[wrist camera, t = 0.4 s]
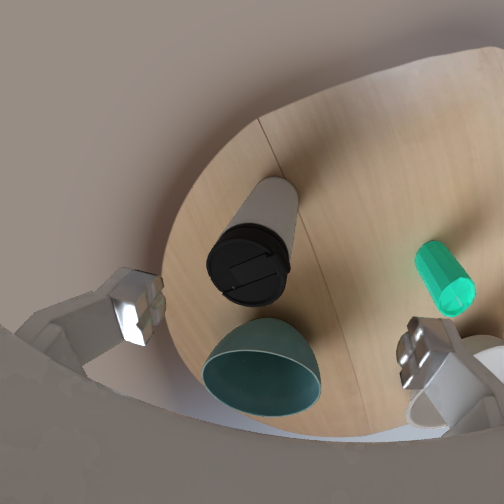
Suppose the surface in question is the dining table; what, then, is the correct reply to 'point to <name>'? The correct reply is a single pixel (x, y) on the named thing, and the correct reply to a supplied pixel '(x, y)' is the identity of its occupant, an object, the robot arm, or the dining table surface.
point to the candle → (445, 279)
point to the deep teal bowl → (263, 370)
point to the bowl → (480, 346)
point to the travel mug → (257, 245)
